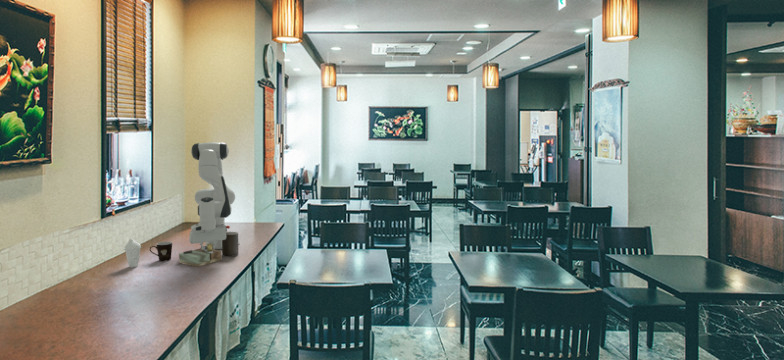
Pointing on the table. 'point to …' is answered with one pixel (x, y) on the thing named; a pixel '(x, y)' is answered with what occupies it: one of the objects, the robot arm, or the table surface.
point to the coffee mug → (163, 250)
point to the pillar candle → (230, 244)
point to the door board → (199, 257)
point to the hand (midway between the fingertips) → (208, 249)
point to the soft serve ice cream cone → (132, 252)
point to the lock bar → (208, 248)
